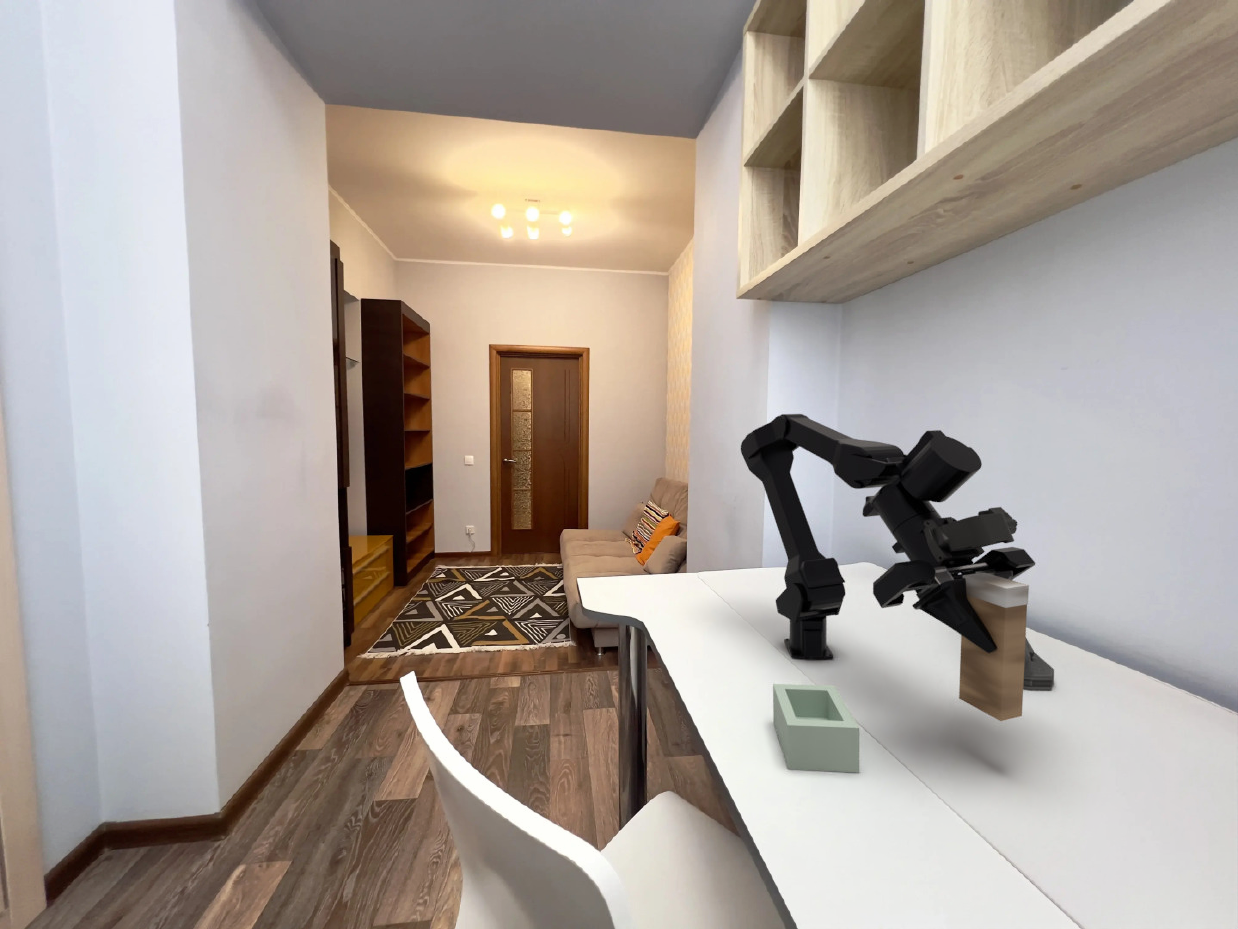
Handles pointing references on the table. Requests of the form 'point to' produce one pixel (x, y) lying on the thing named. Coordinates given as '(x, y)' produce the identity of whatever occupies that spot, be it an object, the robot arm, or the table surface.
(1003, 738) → the table surface
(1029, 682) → the zipper pull
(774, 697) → the post foot
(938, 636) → the table surface
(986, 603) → the rail end
